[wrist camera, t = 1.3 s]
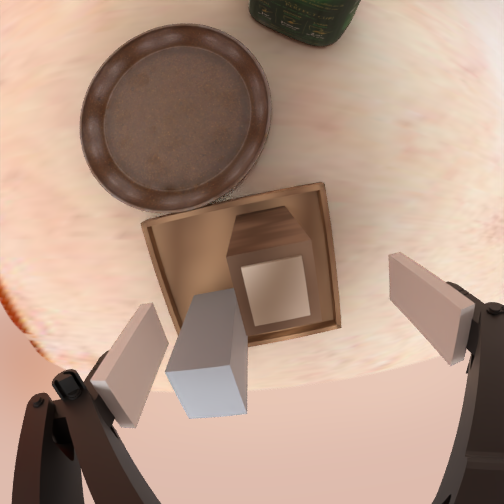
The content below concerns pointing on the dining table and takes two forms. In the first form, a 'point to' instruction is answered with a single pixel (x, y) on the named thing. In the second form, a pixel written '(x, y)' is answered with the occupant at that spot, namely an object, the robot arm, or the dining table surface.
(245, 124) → the plant saucer
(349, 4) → the coffee jar
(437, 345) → the robot arm
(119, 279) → the dining table surface
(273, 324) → the labelled carton
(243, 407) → the plain carton
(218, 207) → the parts tray
